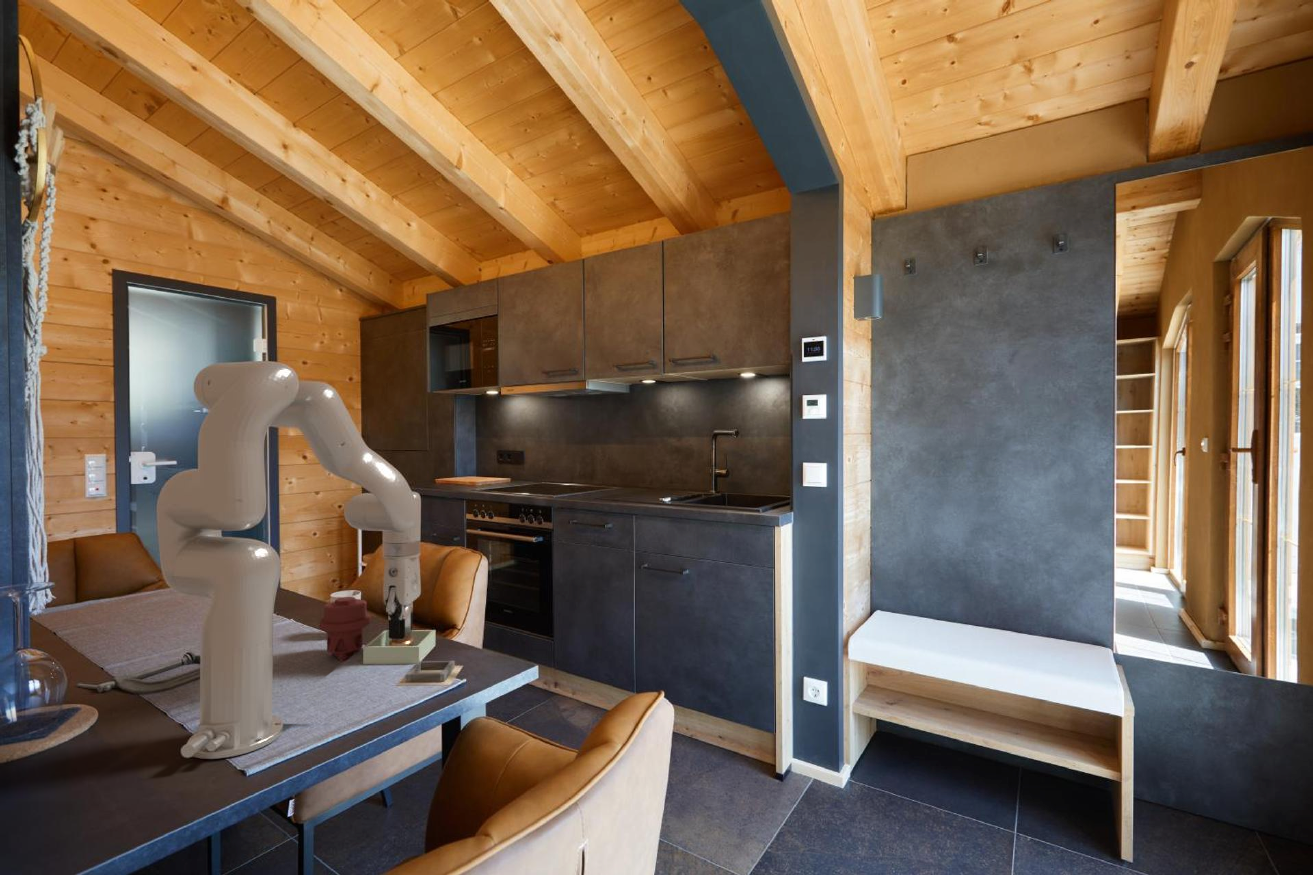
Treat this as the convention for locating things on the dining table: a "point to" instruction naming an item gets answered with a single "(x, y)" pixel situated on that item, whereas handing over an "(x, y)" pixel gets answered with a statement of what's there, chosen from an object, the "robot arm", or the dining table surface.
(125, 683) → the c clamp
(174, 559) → the robot arm
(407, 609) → the grey rounded tall piece
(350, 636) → the mechanical component
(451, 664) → the socket pad
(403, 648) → the bin
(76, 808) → the dining table surface
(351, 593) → the white cup
